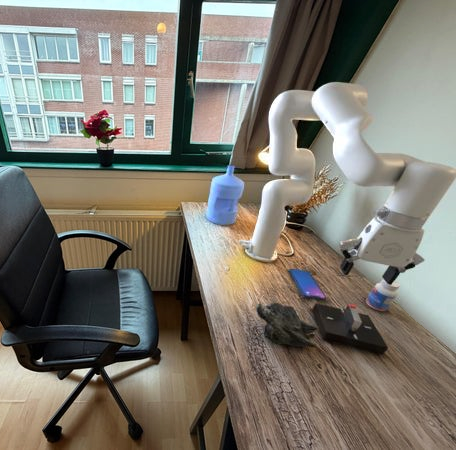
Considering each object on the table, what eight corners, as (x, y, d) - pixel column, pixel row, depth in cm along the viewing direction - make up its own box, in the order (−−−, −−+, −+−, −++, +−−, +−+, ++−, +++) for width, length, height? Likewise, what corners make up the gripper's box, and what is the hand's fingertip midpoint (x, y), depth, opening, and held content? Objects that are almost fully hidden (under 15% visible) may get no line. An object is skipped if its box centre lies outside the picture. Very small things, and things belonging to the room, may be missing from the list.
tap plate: (322, 339, 66) (327, 331, 65) (311, 309, 76) (315, 302, 74) (382, 355, 63) (388, 347, 62) (363, 322, 73) (368, 314, 71)
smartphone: (308, 270, 92) (328, 299, 79) (308, 272, 92) (326, 301, 79) (288, 268, 93) (304, 295, 79) (287, 270, 93) (303, 297, 80)
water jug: (199, 214, 132) (208, 163, 119) (222, 211, 138) (233, 161, 125) (217, 228, 120) (229, 171, 107) (242, 223, 126) (255, 169, 113)
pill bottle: (361, 299, 81) (375, 276, 77) (375, 298, 82) (390, 276, 77) (375, 312, 76) (391, 288, 72) (390, 311, 77) (407, 288, 72)
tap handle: (355, 333, 65) (362, 322, 63) (348, 330, 66) (355, 319, 64) (349, 315, 70) (355, 305, 68) (342, 313, 71) (348, 303, 69)
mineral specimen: (274, 348, 57) (284, 306, 58) (241, 327, 69) (250, 293, 70) (322, 359, 61) (331, 319, 62) (282, 338, 73) (290, 304, 74)
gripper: (364, 218, 54) (332, 277, 62) (460, 234, 50) (412, 295, 59) (351, 205, 60) (323, 260, 69) (436, 218, 57) (395, 275, 65)
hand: (364, 276), depth 64 cm, fingers open, 9 cm apart
